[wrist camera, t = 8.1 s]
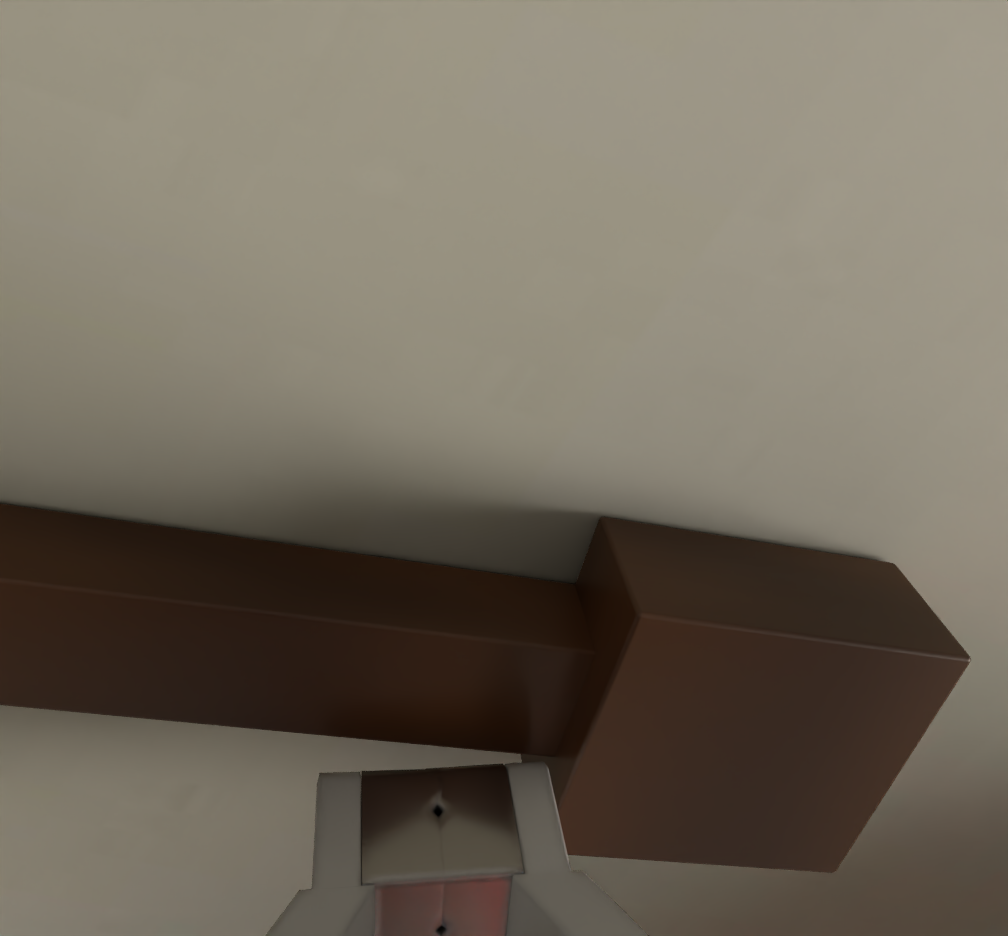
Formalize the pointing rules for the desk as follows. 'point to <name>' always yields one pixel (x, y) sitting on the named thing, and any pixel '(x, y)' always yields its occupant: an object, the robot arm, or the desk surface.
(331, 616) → the wooden mallet
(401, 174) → the desk surface
